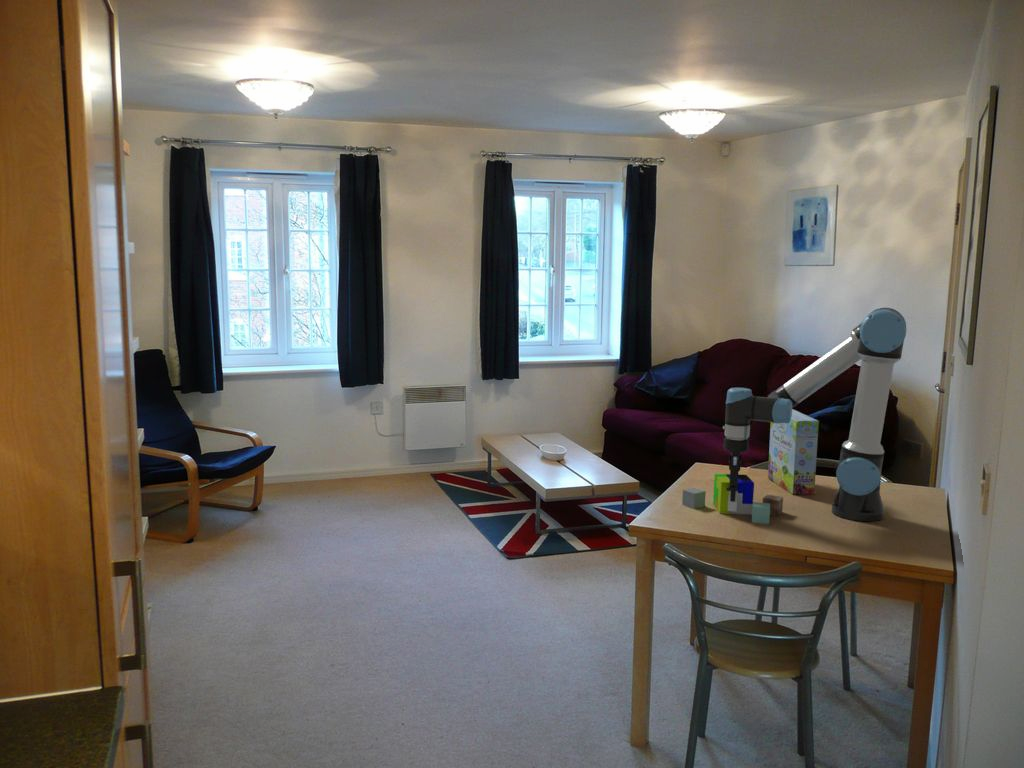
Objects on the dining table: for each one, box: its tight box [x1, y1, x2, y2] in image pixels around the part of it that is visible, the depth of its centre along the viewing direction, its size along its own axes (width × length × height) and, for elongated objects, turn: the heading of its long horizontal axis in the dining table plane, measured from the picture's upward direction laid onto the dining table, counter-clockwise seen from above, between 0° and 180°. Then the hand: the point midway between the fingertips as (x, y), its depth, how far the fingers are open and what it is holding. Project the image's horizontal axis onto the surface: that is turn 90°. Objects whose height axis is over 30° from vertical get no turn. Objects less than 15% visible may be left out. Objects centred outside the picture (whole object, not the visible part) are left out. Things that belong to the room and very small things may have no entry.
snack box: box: [767, 408, 820, 496], centre depth 294 cm, size 22×9×26 cm, turn 6°
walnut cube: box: [762, 494, 784, 517], centre depth 264 cm, size 5×5×5 cm
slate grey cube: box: [681, 487, 707, 510], centre depth 271 cm, size 5×5×5 cm
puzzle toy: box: [712, 473, 755, 515], centre depth 267 cm, size 10×10×10 cm
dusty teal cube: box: [751, 501, 771, 525], centre depth 256 cm, size 5×5×5 cm
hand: (732, 505), depth 268 cm, fingers closed on puzzle toy, 11 cm apart
